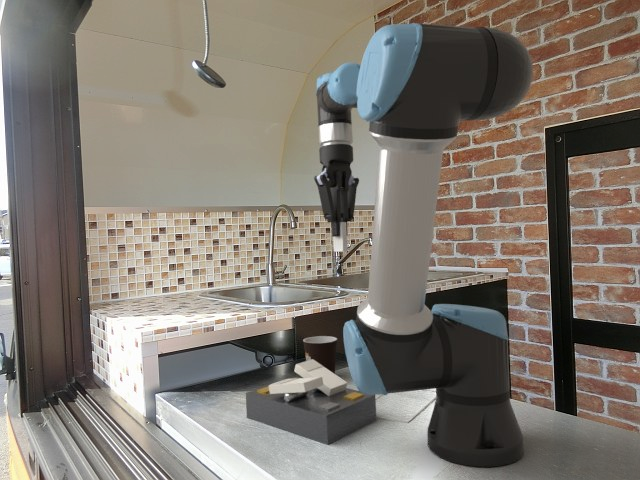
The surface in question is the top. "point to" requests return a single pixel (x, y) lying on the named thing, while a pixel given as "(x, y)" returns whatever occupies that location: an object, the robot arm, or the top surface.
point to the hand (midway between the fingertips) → (340, 251)
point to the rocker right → (315, 369)
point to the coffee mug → (321, 350)
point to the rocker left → (295, 385)
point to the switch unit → (312, 412)
